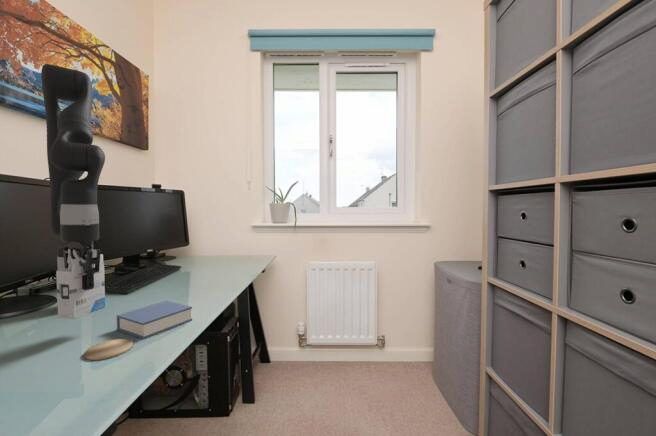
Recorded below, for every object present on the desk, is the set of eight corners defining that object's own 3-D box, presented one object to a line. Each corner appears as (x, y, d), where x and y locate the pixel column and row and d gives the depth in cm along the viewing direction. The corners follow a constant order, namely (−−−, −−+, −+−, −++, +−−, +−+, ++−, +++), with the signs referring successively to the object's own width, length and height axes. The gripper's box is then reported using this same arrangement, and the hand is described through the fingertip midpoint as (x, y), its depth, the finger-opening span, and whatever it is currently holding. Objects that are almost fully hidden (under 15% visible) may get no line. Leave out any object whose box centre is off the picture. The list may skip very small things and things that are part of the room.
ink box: (91, 306, 80) (89, 252, 80) (106, 307, 79) (104, 253, 79) (56, 317, 72) (54, 258, 71) (72, 319, 71) (71, 259, 70)
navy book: (116, 329, 79) (116, 315, 79) (166, 313, 91) (166, 300, 91) (143, 339, 73) (142, 323, 73) (192, 320, 86) (192, 306, 85)
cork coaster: (76, 354, 66) (76, 351, 66) (120, 338, 74) (120, 336, 74) (97, 364, 61) (96, 361, 61) (141, 346, 69) (141, 343, 69)
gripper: (48, 221, 74) (50, 287, 75) (76, 224, 68) (77, 296, 69) (83, 220, 81) (85, 280, 82) (112, 222, 74) (113, 288, 75)
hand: (82, 287), depth 75 cm, fingers closed on ink box, 5 cm apart
